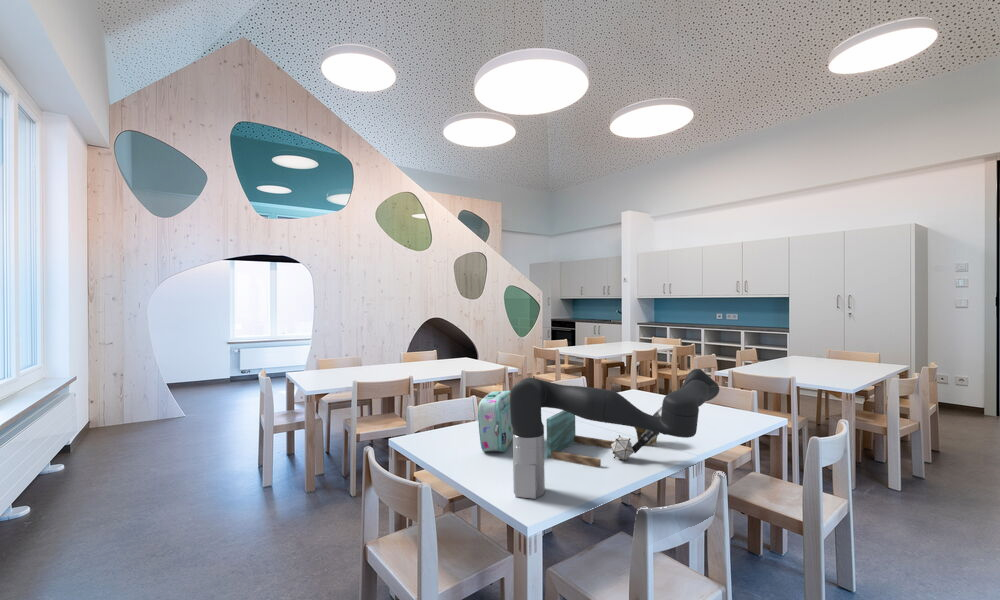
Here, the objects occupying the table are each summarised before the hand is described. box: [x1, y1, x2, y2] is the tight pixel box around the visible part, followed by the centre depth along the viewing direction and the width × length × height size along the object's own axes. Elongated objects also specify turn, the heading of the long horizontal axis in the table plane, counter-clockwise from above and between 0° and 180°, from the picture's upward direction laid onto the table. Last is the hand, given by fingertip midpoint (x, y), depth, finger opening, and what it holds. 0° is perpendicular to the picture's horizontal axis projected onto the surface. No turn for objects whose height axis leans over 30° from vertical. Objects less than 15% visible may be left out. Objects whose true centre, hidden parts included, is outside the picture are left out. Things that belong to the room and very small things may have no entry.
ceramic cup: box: [633, 427, 658, 447], centre depth 179 cm, size 13×10×10 cm
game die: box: [609, 434, 637, 463], centre depth 160 cm, size 9×8×10 cm
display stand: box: [546, 410, 615, 468], centre depth 168 cm, size 20×23×14 cm
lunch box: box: [477, 390, 513, 453], centre depth 178 cm, size 27×10×21 cm, turn 168°
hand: (634, 449), depth 160 cm, fingers closed
